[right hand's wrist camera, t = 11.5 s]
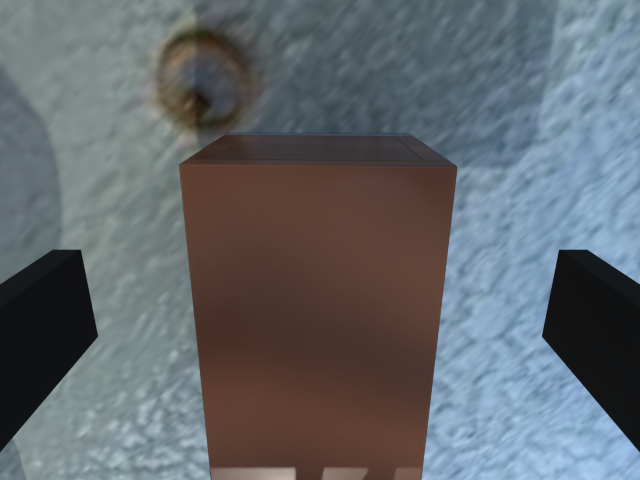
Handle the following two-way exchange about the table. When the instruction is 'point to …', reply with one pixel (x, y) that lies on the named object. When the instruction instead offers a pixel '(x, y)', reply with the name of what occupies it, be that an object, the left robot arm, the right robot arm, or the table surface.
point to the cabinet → (317, 300)
